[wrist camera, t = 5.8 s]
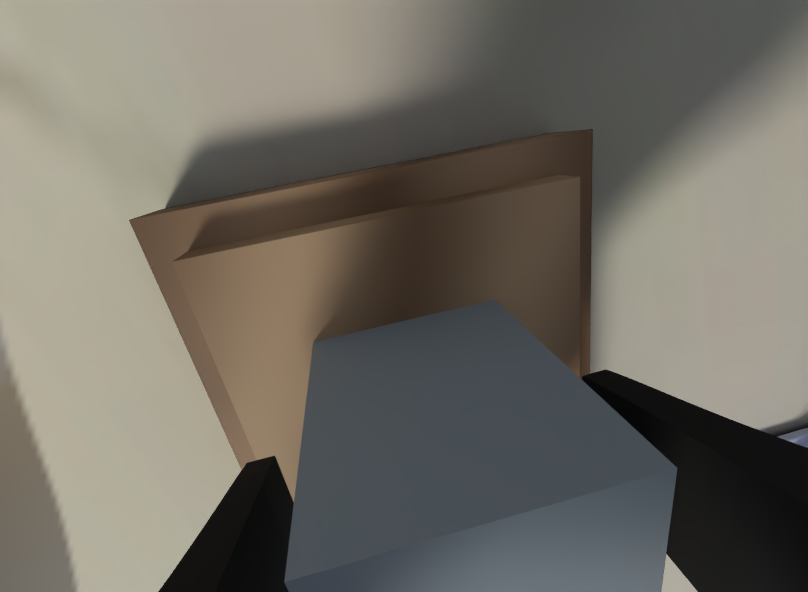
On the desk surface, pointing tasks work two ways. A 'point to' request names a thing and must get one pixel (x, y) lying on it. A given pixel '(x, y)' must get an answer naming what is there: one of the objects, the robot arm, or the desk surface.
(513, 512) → the slate block
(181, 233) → the plinth
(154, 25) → the desk surface
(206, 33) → the desk surface
